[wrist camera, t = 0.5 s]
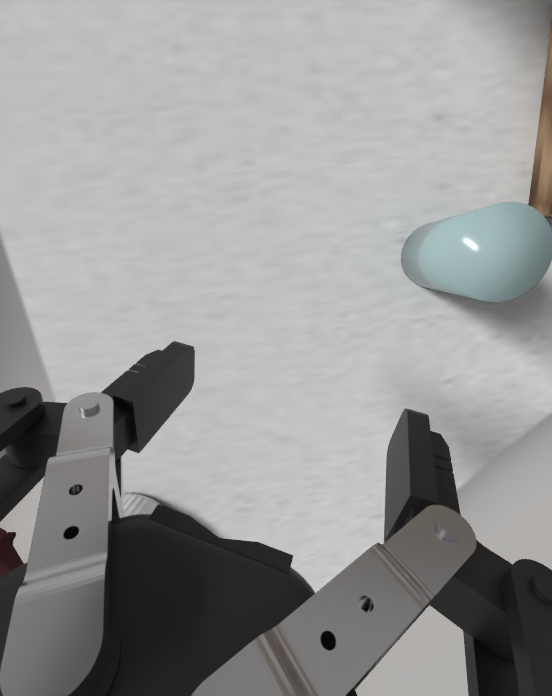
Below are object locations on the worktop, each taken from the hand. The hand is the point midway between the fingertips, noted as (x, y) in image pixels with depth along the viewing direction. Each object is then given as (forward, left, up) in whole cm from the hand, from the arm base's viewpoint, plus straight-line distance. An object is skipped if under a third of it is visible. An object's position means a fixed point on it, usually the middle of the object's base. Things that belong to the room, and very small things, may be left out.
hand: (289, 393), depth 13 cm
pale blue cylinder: (-5, +13, -23) cm, 27 cm away
